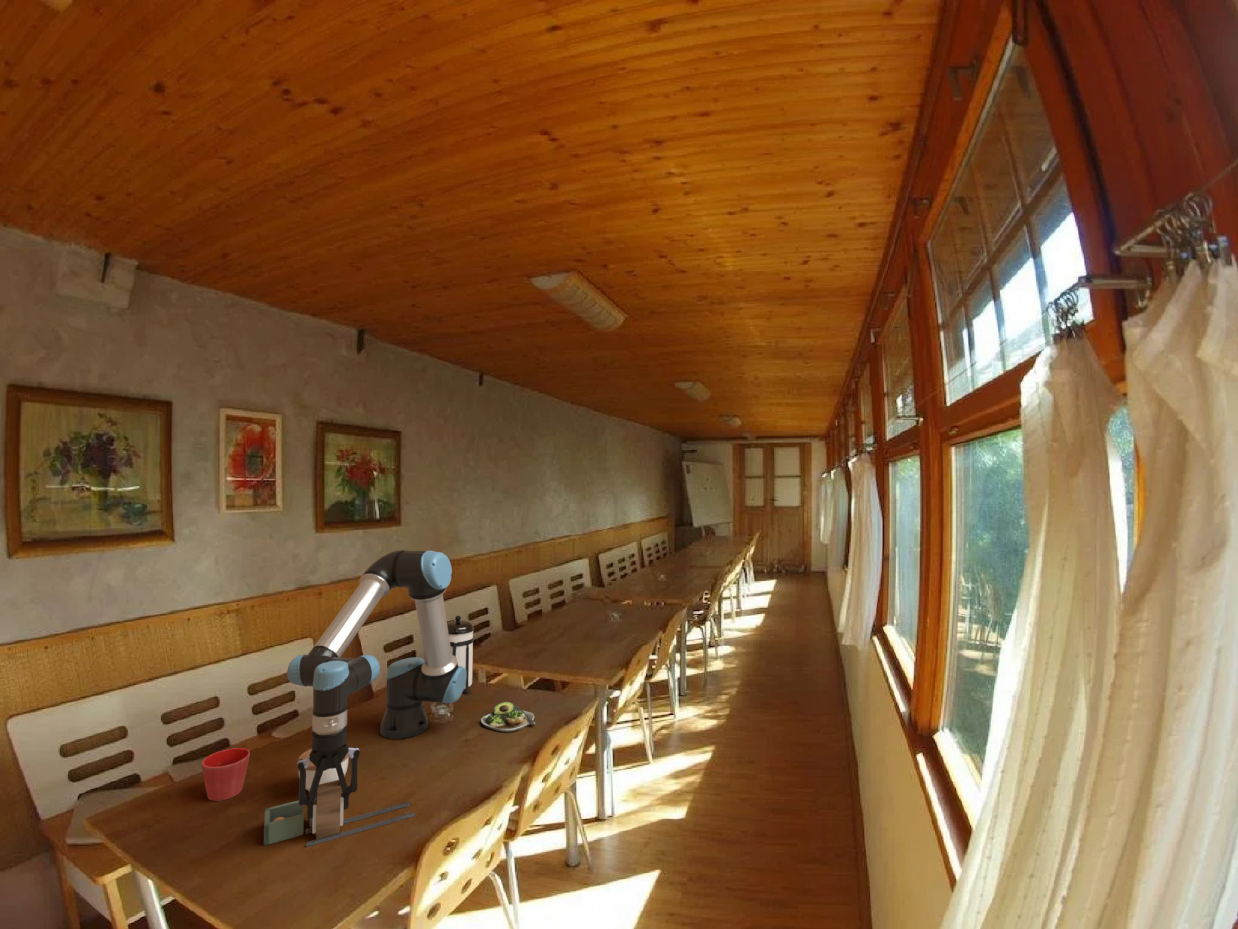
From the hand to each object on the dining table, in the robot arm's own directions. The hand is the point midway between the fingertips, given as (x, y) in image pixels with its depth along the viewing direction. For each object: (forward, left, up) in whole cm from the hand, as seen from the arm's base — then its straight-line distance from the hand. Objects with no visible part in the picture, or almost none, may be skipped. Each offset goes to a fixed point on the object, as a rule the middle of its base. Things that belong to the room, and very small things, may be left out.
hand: (327, 826), depth 136 cm
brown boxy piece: (-3, -1, -1) cm, 3 cm away
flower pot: (-33, -22, -2) cm, 40 cm away
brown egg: (-6, -10, -2) cm, 12 cm away
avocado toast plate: (-40, +59, -2) cm, 71 cm away
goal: (-6, -9, -2) cm, 11 cm away
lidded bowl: (-23, +1, -2) cm, 24 cm away
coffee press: (-76, +52, -2) cm, 92 cm away
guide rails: (0, +8, -2) cm, 8 cm away
